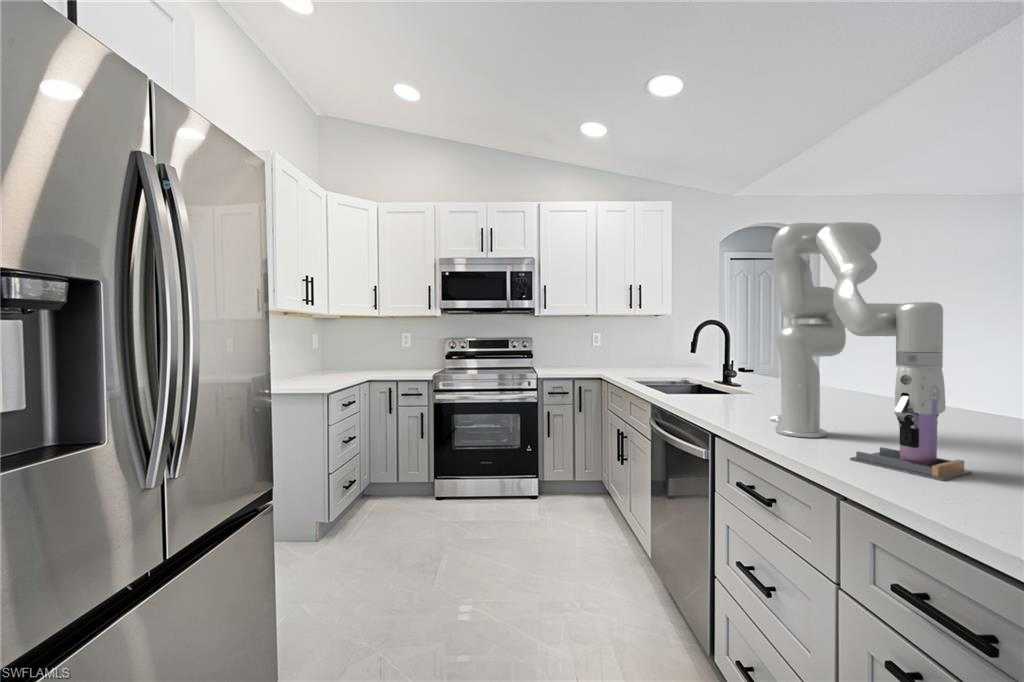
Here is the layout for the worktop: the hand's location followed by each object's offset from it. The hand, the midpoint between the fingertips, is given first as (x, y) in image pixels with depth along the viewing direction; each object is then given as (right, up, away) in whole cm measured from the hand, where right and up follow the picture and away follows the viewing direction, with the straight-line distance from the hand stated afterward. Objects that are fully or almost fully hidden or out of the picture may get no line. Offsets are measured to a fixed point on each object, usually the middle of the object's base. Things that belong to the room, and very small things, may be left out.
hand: (918, 443), depth 99 cm
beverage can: (0, -5, 0) cm, 5 cm away
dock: (-1, -5, +2) cm, 6 cm away
